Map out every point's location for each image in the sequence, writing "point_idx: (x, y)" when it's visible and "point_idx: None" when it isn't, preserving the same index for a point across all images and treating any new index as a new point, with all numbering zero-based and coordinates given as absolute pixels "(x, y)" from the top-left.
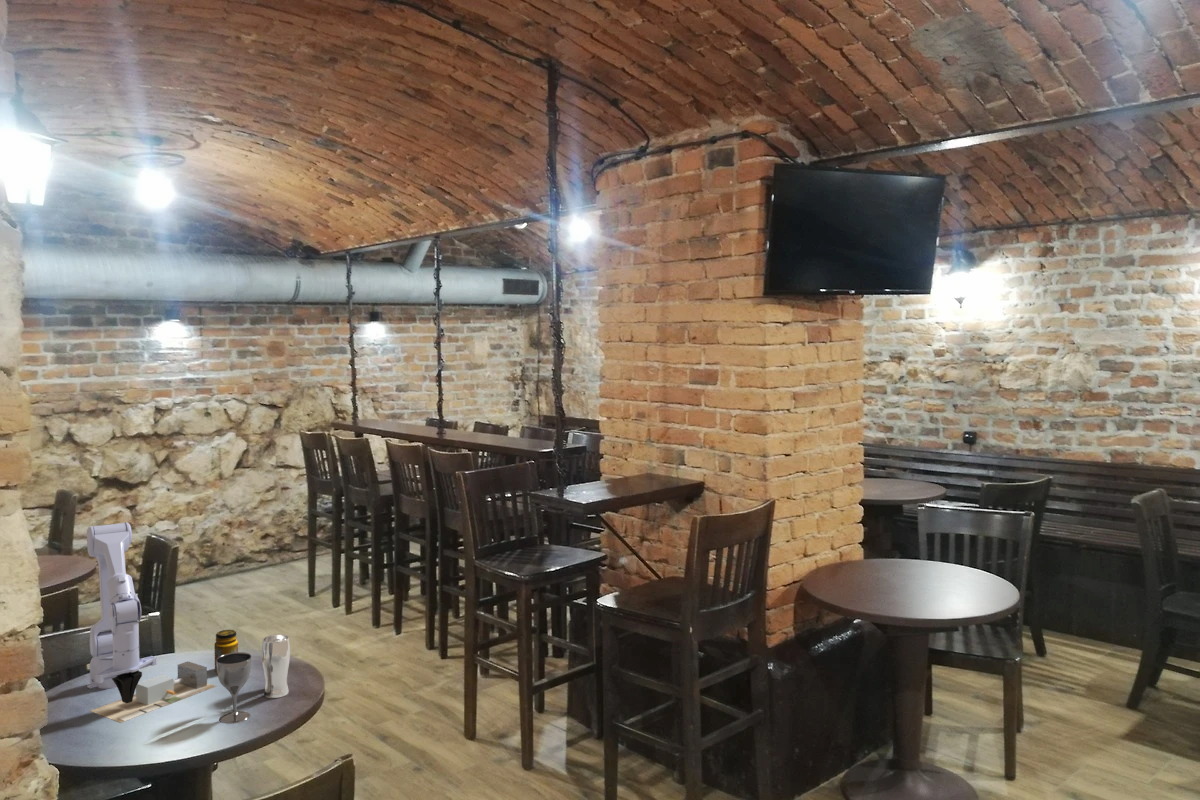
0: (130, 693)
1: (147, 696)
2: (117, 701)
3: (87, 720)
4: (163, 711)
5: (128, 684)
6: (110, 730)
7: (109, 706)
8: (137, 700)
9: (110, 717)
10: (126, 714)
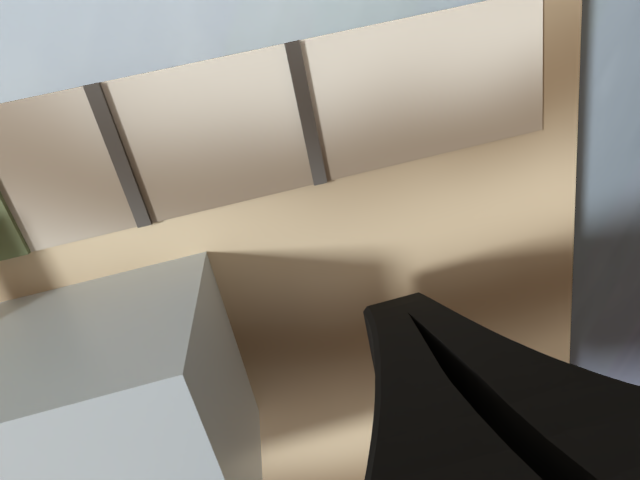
0: (428, 356)
1: (199, 303)
2: None
3: (593, 332)
4: (92, 83)
5: (621, 427)
6: (622, 6)
7: None
8: (254, 399)
9: (560, 198)
10: (445, 164)
